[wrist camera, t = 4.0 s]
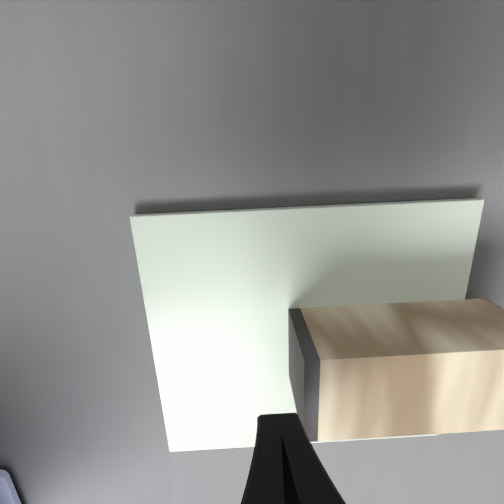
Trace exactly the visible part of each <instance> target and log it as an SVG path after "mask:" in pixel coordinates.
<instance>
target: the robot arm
mask: <svg viewBox="0 0 504 504" xmlns="http://www.w3.org/2000/svg"><path fill="white" fill-rule="evenodd" d="M0 504H21V502H20V500H19V497H18V495H17V492H16V490H15V487H14V485H13V482H12V480H11V477H10V475H9V473H8V472H7V471H5V470H2V469H0ZM241 504H346V503H345V502H344V500H343V499H342V497H341V495H340V494H339V492H338V491H337V489H336V487H335V486H334V484H333V483H332V481H331V479H330V477H329V476H328V474H327V472H326V470H325V469H324V467H323V465H322V463H321V462H320V460H319V458H318V456H317V454H316V453H315V451H314V449H313V447H312V445H311V443H310V441H309V439H308V437H307V435H306V432H305V430H304V428H303V426H302V423H301V421H300V418H299V415H298V414H296V413H280V414H264V415H259V416H258V417H257V433H256V441H255V447H254V453H253V458H252V462H251V467H250V471H249V476H248V480H247V484H246V487H245V491H244V494H243V498H242V501H241Z"/></svg>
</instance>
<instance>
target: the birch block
mask: <svg viewBox="0 0 504 504" xmlns="http://www.w3.org/2000/svg"><path fill="white" fill-rule="evenodd" d="M288 343H289V379H290V383H291V388H292V392H293V397H294V402H295V406H296V411H297V414H298V415H299V418H300V421H301V423H302V426H303V428H304V430H305V432H306V435H307V437H308V439H309V441H310V442H317V441H332V440H348V439H364V438H380V437H396V436H412V435H427V434H443V433H459V432H475V431H491V430H504V309H503V308H501V307H500V306H498V305H496V304H494V303H493V302H491V301H489V300H488V299H486V298H477V299H461V300H442V301H424V302H405V303H387V304H368V305H350V306H331V307H313V308H294V309H288Z"/></svg>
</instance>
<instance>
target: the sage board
mask: <svg viewBox="0 0 504 504" xmlns="http://www.w3.org/2000/svg"><path fill="white" fill-rule="evenodd" d="M483 204H484V200H482V199H477V198H466V199H445V200H424V201H403V202H383V203H362V204H341V205H320V206H299V207H278V208H258V209H237V210H216V211H195V212H174V213H154V214H134V215H132V216H130V222H131V228H132V234H133V239H134V245H135V251H136V257H137V263H138V269H139V275H140V280H141V286H142V292H143V298H144V304H145V310H146V316H147V321H148V327H149V333H150V339H151V345H152V351H153V357H154V362H155V368H156V374H157V380H158V386H159V392H160V397H161V403H162V409H163V415H164V421H165V427H166V433H167V438H168V444H169V450H170V452H175V451H191V450H207V449H223V448H239V447H255V441H256V433H257V417H258V416H259V415H264V414H280V413H296V414H297V411H296V406H295V402H294V397H293V392H292V388H291V383H290V379H289V343H288V309H294V308H313V307H331V306H350V305H368V304H387V303H405V302H424V301H442V300H461V299H465V296H466V291H467V286H468V281H469V276H470V271H471V266H472V261H473V255H474V250H475V245H476V240H477V235H478V230H479V225H480V220H481V215H482V209H483ZM432 435H438V434H427V435H412V436H396V437H380V438H364V439H348V440H332V441H317V442H310V443H320V442H336V441H352V440H368V439H384V438H400V437H416V436H432Z"/></svg>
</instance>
